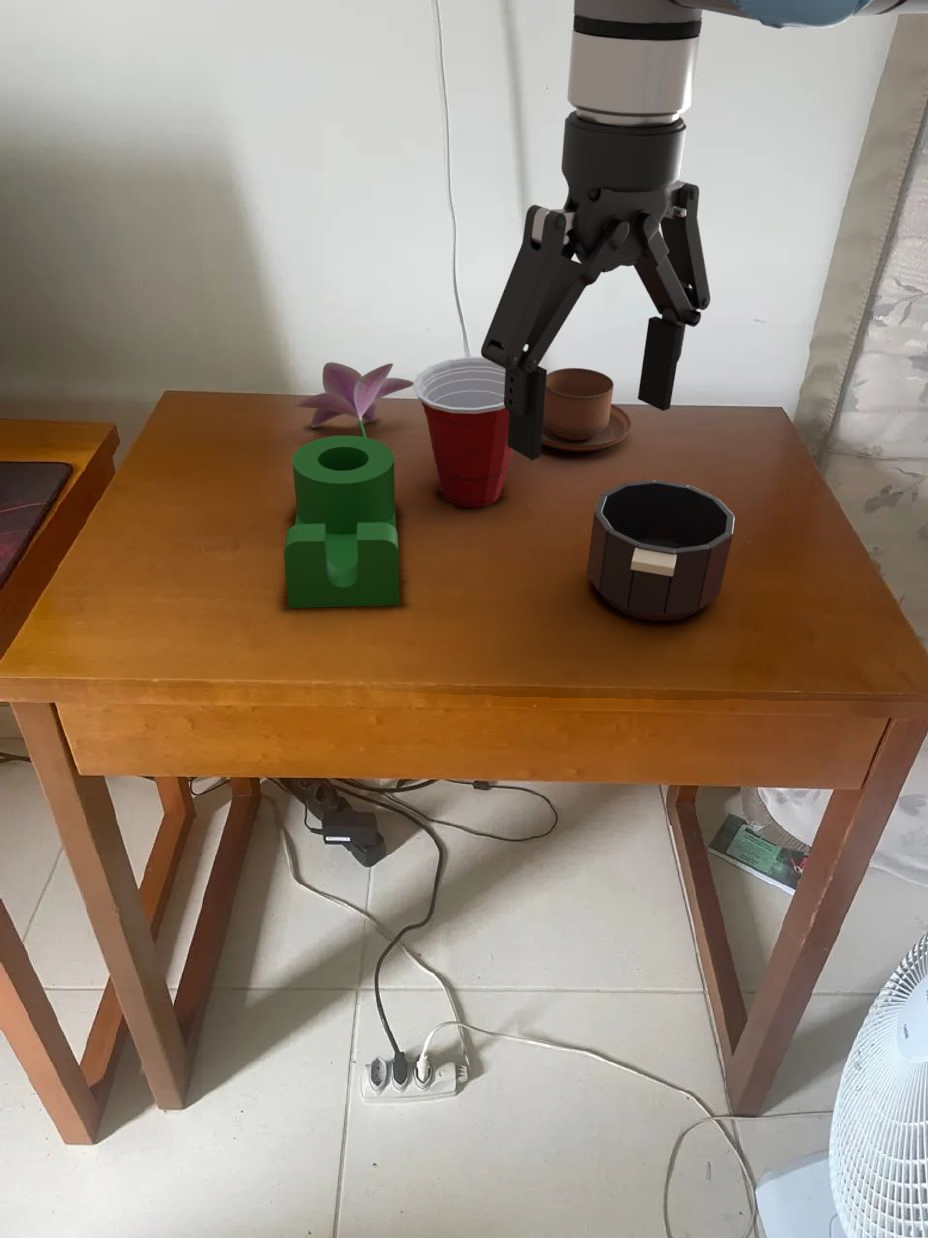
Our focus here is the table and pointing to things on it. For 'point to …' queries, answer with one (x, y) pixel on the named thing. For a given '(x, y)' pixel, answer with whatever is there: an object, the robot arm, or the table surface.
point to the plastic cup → (467, 427)
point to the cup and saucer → (581, 411)
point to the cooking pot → (659, 546)
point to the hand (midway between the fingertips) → (591, 427)
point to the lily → (352, 393)
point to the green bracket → (343, 525)
